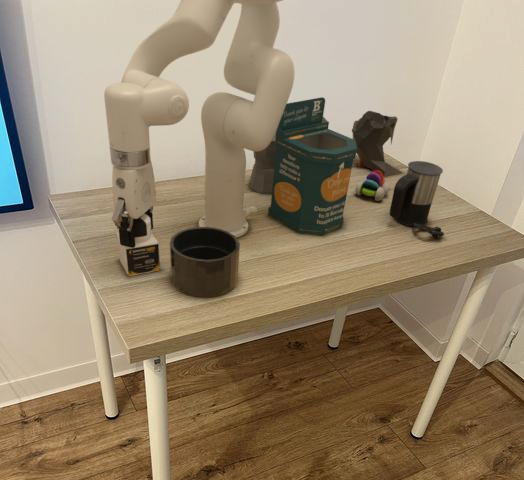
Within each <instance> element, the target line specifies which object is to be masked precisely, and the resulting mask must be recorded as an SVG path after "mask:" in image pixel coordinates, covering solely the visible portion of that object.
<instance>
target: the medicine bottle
mask: <svg viewBox="0 0 524 480" xmlns="http://www.w3.org/2000/svg"><path fill="white" fill-rule="evenodd" d="M127 214H128V213H127ZM128 215H129V214H128ZM128 219H129V218H127V217H124V218H123V221H125V222H126V223H127V224H128ZM132 229H134V236H135V247H134V248H132V247H127V246H123V245H121V244H120V237H119V232H117V233H116V240H117V249H118V258H119V259H118V260H119V262H120V264H121V265H122V267H123V269H124V271H125V272H126V274H127V276H128V277H133V276H138V275H143V274H149V273H153V272H158V271H160V270H161V266H160V265H161V264H160V247H159V246H160V245H159V241H158V239H157V238H156V237H155V236H154V234H153V233H152V230H151V219H150V217H149V216H148V215H146V214H143V215H142V216H140V217H139V218H138V219H134V220H133V225H132Z"/></svg>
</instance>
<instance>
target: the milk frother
mask: <svg viewBox="0 0 524 480" xmlns="http://www.w3.org/2000/svg"><path fill="white" fill-rule="evenodd" d="M407 167H408V168H407V171H406V174H404V175H402V176H401V177H400V178H399V179H398V180H397V182H396V183H395V186H394V187H393V194H392V199H391V202H390V208H389V216H390V217H392V218H394V219H395V220H396V222H398V223H400V224H402V225H405V226H409V227H415V228H416V229H418V230H420V231H424V232H425V233H426V232H427V233H428V234H430V235H431V236H432V237H433V238H434V237H435V238H439V237H443V236H444V235H445V232H443V231H442V228H441V227H439V226H434V227H432V226H427V224H428V222H429V221H428V219H429V218H428V217H429V215H430V212H431V211H430V210H431V208H432V204H433V201H434V197H435V195H436V191H437V187H438V185H439V182H440V178H441V176H442V175H441V174H443V173H444V170H443V168H442V167H441V166H440V165H437V164H435V163H433V162H429V161H424V160H413V161H410V162H408V163H407Z"/></svg>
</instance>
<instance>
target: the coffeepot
mask: <svg viewBox="0 0 524 480" xmlns="http://www.w3.org/2000/svg"><path fill="white" fill-rule="evenodd" d="M275 136H276V133H275V135H274V137H273V139H272V141H271V143H270V144H269V145H268V146H267V147H266V148H265V149H264V150H262V151H258V152H255V151H252V152H253V159H254V163H253V166H252V171H251V175H250V179H249V182H248V185H249V188H250V190H252V191H253V192H256V193H259V194H265V195H266V194H267V195H268V194H272V187H273V177H274V166H275V156H276V146H275Z"/></svg>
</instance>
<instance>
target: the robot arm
mask: <svg viewBox="0 0 524 480" xmlns="http://www.w3.org/2000/svg"><path fill="white" fill-rule="evenodd" d="M281 1H283V0H180V2H179V3H178V6H177V8H176V10H175V11H174V13H173V14H172V16H171V17H170V18H169V19H168V20H167V21H165V22H163V23H162V24H161V25H159V26H158V27H157V28H156V29H155V30H154V31H152V32H151V33H150V34H149V35H148V36H146V37H145V39H143V40H142V41H141V43H139V45H138V46H137V47H136V49H135V51H134V52H133V54H132V55H131V58H130V60H129V61H128V64H127V66H126V68H125V69H124V73H123V75H122V78H121V81H120V82H115V83H112V84H109V85H108V86H107V87H105V88H104V89H105V90H104V93H103V97H104V105H105V106H104V107H105V116H106V125H107V136H108V144H109V145H108V146H109V155H110V163H111V165H112V179H111V180H112V200H113V208H114V211H113V213H112V216H111V220H112V222H113V223H114V225H115V226H116V229H118V233H119V237H120V244H121V245H123V246H127V247H132V248H134V247H135V236H134V229H132V225H133V220H134V219H138V218H139V217H140V216H142V215H143V214H146V215H148V216H149V217H150V219H151V231H152V230H153V229H154V220H153V219H154V218H153V211H154V205H155V203H157V192H156V191H157V190H156V181H155V175H154V167H153V163H152V159H151V158H152V157H151V144H150V127H158V126H160V127H161V126H163V127H164V126H172V125H176V124H178V123H180V122H181V121H182V120H184V118H185V117H186V116H187V114H188V113H189V112H188V111H189V108H190V100H189V96H188V94H187V92H186V91H185V90H184V89H183V88H182V87H181V86H180V85H178V84H176V83H174V82H172V81H170V80H167V79H163V78H162V77H160V76H161V74H162V73H163V72H164V70H166V68H167V67H168V66H169V65H170V64H172V63H173V62H175V61H176V60H179V59H180V58H182V57H185V56H188V55H192V54H195V53H198V52H201V51H204V50H206V49H209V48H210V47H212V46H213V45H214V43H215V41H216V39H217V37H218V36H219V33H220V31H221V29H222V27H223V25H224V23H225V21H226V19H227V18H228V15H229V13H230V11H231V9H232V7H233V6H234V4H239V5H240V7H241V8H240V15H239V19H238V22H237V26H236V29H235V31H234V35H233V38H232V41H231V43H230V47H229V49H228V52H227V55H226V59H225V62H224V67H223V77H224V80H225V82H226V83H227V85H229V86H231V87H232V88H234V89H236V90H239V91H241V92H244V93H247V94H249V95H253V96H254V97H253V100H249V99H248V98H245V97H243V96H238V95H236V94H233V93H230V92H229V93H228V92H221V91H219V92H214V93H212V94H211V95H209V96H208V97H207V98H206V99H205V100H204V102H203V104H202V107H201V111H200V121H201V122H200V124H201V128H202V134H203V140H204V155H205V159H204V160H205V162H204V163H205V166H204V215H203V216H202V217H200V218H199V220H198V227H213V228H218V229H222V230H225V231H227V232H229V233H231V234H233V235H234V236H235V237H236V238H237V239H238V238H240V237H242V236H244V235H246V234H247V233H248V231H249V222H248V221H247V218H249V216H252V215H254V214H256V213H257V211H258V210H257V208H256V206H255V205H251V206H248V207H247V206H246V204H244V202H245V187H246V186H245V185H246V184H245V183H246V182H245V181H246V169H247V157H246V156H247V155H246V151H245V150H247V151H251V152H253V151H255V152H258V151H262V150H264V149H265V148H266V147H267V146H268V145H269V144H270V143H271V141H272V139H273V137H274V135H275V133H276V130H277V128H278V125H279V122H280V120H281V117H282V114H283V112H284V109H285V107H286V104H287V103H288V101H289V99H290V96H291V93H292V90H293V87H294V81H295V65H294V62H293V59H292V58H291V56H290V55H289V54H288V53H286V52H285V51H283V50H280V49H278V48H274V45H275V42H276V40H277V36H278V32H279V29H280V25H281V24H280V23H281V21H280V19H281V17H280V11H279V6H278V3H279V2H281ZM125 212H127V213H125ZM128 214H129V215H128ZM124 217H127V218H129V219H128V224H127V223H126V222H125V221H123V218H124Z"/></svg>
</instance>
